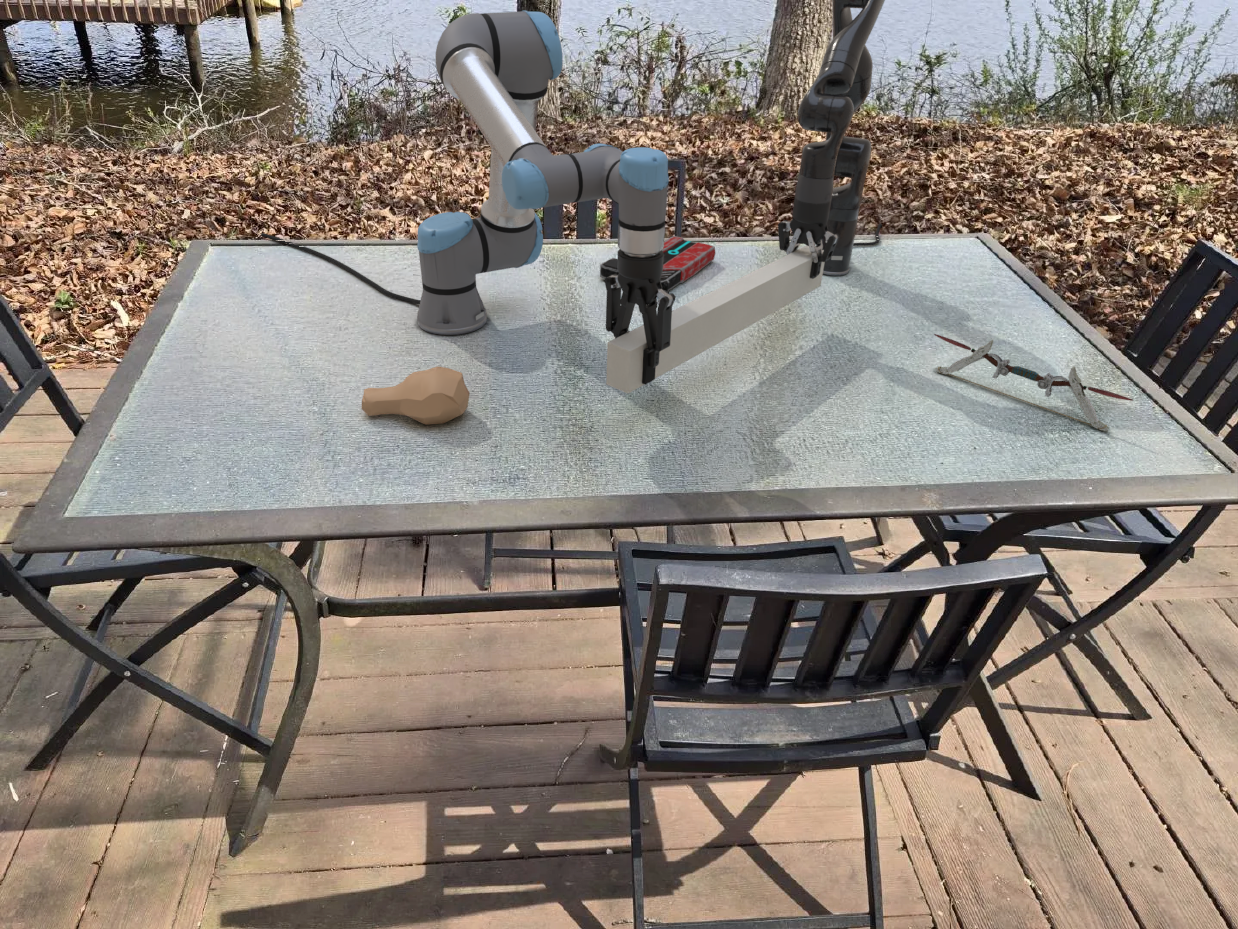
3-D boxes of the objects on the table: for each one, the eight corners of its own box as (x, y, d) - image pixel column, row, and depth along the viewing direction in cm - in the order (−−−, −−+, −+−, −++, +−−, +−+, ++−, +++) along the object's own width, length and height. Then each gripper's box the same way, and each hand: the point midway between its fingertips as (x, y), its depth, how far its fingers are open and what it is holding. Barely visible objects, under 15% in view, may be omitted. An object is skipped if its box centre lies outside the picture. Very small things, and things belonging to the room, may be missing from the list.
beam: (628, 393, 151) (630, 351, 147) (606, 384, 154) (607, 342, 149) (820, 286, 195) (826, 250, 191) (801, 280, 198) (806, 245, 194)
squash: (470, 431, 159) (458, 392, 152) (363, 439, 160) (347, 401, 154) (477, 393, 166) (467, 355, 160) (375, 401, 168) (361, 364, 162)
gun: (594, 265, 215) (663, 284, 207) (655, 228, 237) (719, 244, 229) (593, 282, 218) (662, 301, 210) (654, 244, 240) (718, 261, 232)
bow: (1121, 433, 163) (1140, 386, 158) (1118, 437, 162) (1137, 389, 156) (928, 365, 184) (939, 321, 179) (924, 368, 183) (935, 324, 178)
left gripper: (699, 257, 140) (689, 385, 153) (613, 230, 150) (611, 353, 163) (670, 270, 135) (663, 401, 148) (584, 241, 145) (583, 367, 158)
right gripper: (853, 199, 181) (839, 278, 190) (792, 185, 188) (782, 261, 198) (835, 208, 176) (822, 287, 185) (774, 192, 183) (764, 270, 193)
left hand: (635, 375), depth 155 cm, fingers closed on beam, 5 cm apart
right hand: (801, 273), depth 191 cm, fingers closed on beam, 5 cm apart
